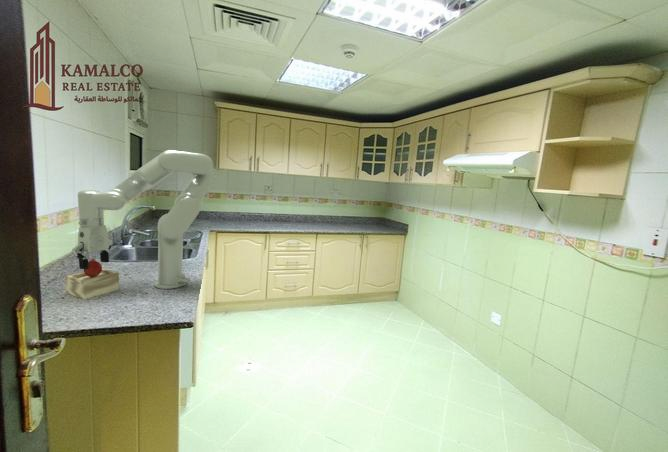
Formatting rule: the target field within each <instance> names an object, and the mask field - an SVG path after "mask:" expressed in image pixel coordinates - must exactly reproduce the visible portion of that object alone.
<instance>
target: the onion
mask: <svg viewBox="0 0 668 452" xmlns="http://www.w3.org/2000/svg"><path fill="white" fill-rule="evenodd" d="M88 267H89V268H88V269H83V272H84V273H85V274H86V275H87V276H89V277H91V278H94V277H96V276H97V275H99V274H100V273H101V271H102V269H103V267H102V264H101V263H100V262H99V261H96V259H95V258H92V259H91V260H88Z"/></svg>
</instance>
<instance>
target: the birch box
mask: <svg viewBox="0 0 668 452" xmlns="http://www.w3.org/2000/svg"><path fill="white" fill-rule="evenodd" d="M119 273H120V272H117V271H114V270H110V269H106V268H102V271H101V273H100V274H99V275H97V276H96V277H94V278H91V277H89V276H87V275H86V274H85V273H84V271H82V272H78V273H73V274H69V275H65V276H64V277H65V279H64V280H65V294H66V293H68V294H67V295H69V294H71V295H70V296H72V295H73V296H72V297H75V296H76V298H78V297H79V299H81V298H83V300H88V299H90V298H94V296H95V297H98V296H101V294H102V295H105V294H108V293H113V292H115V291H117V290H120V274H119ZM87 298H88V299H87Z"/></svg>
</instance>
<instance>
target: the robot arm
mask: <svg viewBox="0 0 668 452" xmlns="http://www.w3.org/2000/svg"><path fill="white" fill-rule="evenodd" d="M213 168H214V163H213V160H212V159H211V157H210V156H209V155H207V154H205V153H200V152H199V153H198V152H189V151H180V150H175V149H174V150H173V149H167V150H164V151H162V152H160V154H158V155H157V156H156V157H154V158H152V159H151V160H149V161H148V162H146V164H144V165H142V166H141V167H139V168H138V169H137V170H136V171H134V172H133V173H131V174H130V176H128V178H126V179H125V180H124V181H122V182H121V183H119V184H117V185H116V186H114V187H113V188H111V189H110V190H108V191H100V190H89V189H88V190H79V191H78V193H77V204H78V206H77V207H78V218H79V219H78V225H79V227H78V232H77V245H76V246H74V247H73V248H72V249H71V251H72V254H73V255H74V256H75V257H76V259H77V260H78V265H79V266H78V267H79V269H80V270H84V269H88V268H89V267H88V262H89V259H88V256H89V254H95V253H98V252H100V253H99V254H100V258H99V259H100V262H101V263H109V262H110V258H109V257H110V255H109V253H110V252H111V251H110V250H111V248H112V244H113V240H112V239H109V231H108V228H107V226H106V224H105V217H104V211H105V210H106V211H119V210H121V209H123V208H124V207H125V205H126V204H127V203H129V202H130V201H131V200H133V199H134V198H136V197H137V196H139V195H141V193H143V192H145V191H147V190H149V189H150V190H151V189H152V188H154V187H155V186H157V185H158V184H159V183H161V182H162V181H164V180H165V179H166V178H168V177H169V176H171V175H172V174H173V173H174V172H175V173H183V174H192V175H191V178H190V181H188V183H187V184H186V185H185V187H184V188H183V190H182V191H181V193H179V195H178V196H177V197H176V198H175V200H174V204H173V206H172V207H171V208H170V210H169V211H168V212H167V213H165V214H163V215H161V217H160V218H159V219H158V222H157V245H158V247H157V248H158V249H157V265H158V266H157V273H158V275H157V276H158V277H157V280H156V281H154V282H153V285H154V287H155V288H157V289H163V290H169V289H170V290H171V289H178V288H181V287H184V286H185V285H186V284H190V283H191V277H188V276H187V277H186V274H185V273H183V261H184V260H183V257H184V256H183V253H184V251H183V250H184V249H183V247H184V246H183V245H184V242H183V237H184V236H183V235H184V234H185V233H186V231H187V230H188V229H189V227H190V226H191V224H193V222H194V221H195V220H196V218H197V216H198V215H199V213H200V211H201V202H202V201H203V200H204V198H205V196H206V195H207V193H208V192H209V190H210V189H211V187H212V184H213V180H214V179H213V178H214V177H213V171H212V169H213Z"/></svg>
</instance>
